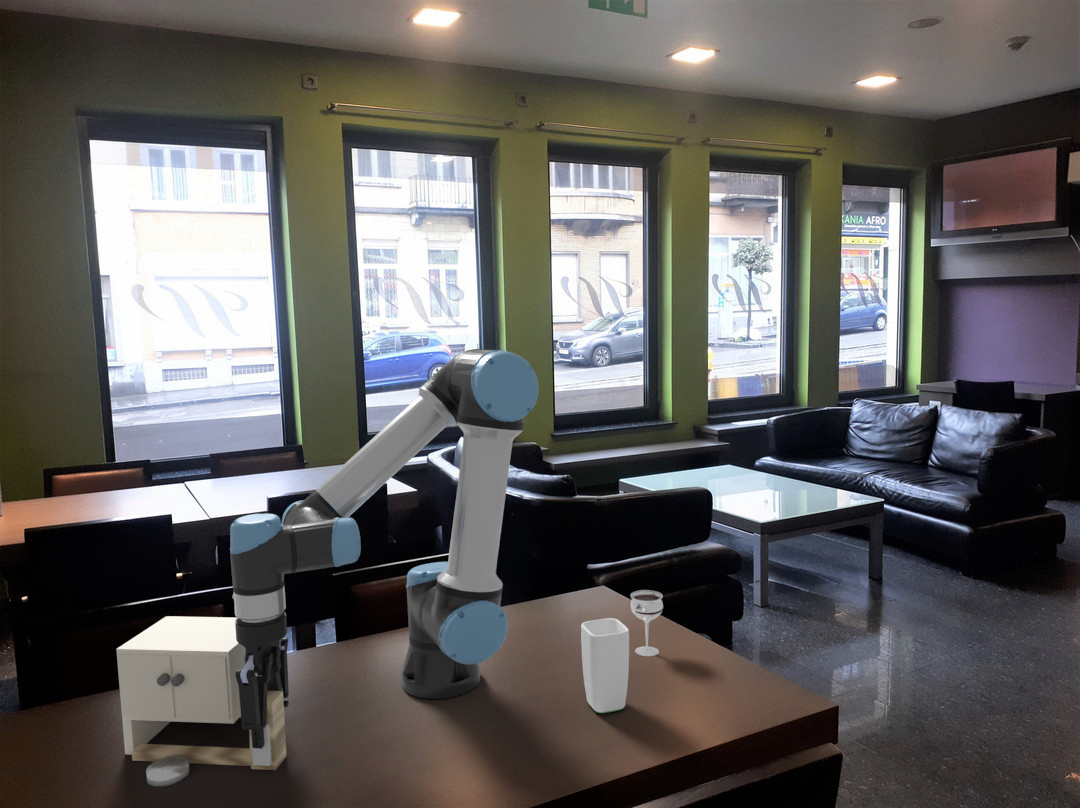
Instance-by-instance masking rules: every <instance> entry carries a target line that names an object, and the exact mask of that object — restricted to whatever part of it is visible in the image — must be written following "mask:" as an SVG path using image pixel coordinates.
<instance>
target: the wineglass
mask: <svg viewBox="0 0 1080 808" xmlns="http://www.w3.org/2000/svg"><path fill="white" fill-rule="evenodd" d="M662 598H664V597H663V594H662V593H661V592H659V591H655V590H651V589H650V590H649V589H640V590H636V591H635V590H634V591H633V592H631V593H630V599H631V600H630V605H629V606H630V610H631V613H632V614H633V615H634V616H635V617H636V618H637V619H639V620H642V621H643V623H644V634H645V645H644V646H638V647H637V648H635V650H634V653H636V654H637V655H639V656H642V657H653V656H657V655H659V654H660V651H659V649H658V648H657V647H653V646H649V625H650V624H649V623H650V622H651V621H653V620H655V619H657V618H658V617H659V616H660V615H661V614H662V613H663V609H664V604H663V600H662Z"/></svg>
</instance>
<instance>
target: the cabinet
mask: <svg viewBox="0 0 1080 808" xmlns="http://www.w3.org/2000/svg"><path fill="white" fill-rule="evenodd" d="M236 619H237V617H225V616H224V617H223V616H219V617H218V616H180V615H179V616H175V615H174V616H171V615H170V616H169V615H168V616H167V615H166V616H164V617H163V618H161V619H160V620H158V621H157V622H155V623H154V624H152V625H151V626H149V627H148V628H146V629H144V630H143V631H142V632H140V633H139V634H137V635H136V636H134V637H132V638H131V639H129V640H128V641H126V642H125V643H123V644H122V645H120V646H118V647H117V648H116V649H115V650H116V658H117V659H116V660H117V670H118V671H117V672H118V674H117V675H118V682H119V683H118V684H119V696H120V698H119V699H120V707H121V709H120V710H121V719H122V720H121V721H122V732H123V744H124V745H123V746H124V755H127V756H128V755H129V756H130V755H131V756H132V751H133V750H134V749H135V748H136V747H138V746H139V745H140V744H149V742H150V741H151V740H152V739H153V738H155V736H157V735H158V734H160V732H161V731H162V730H163V729H165V728H166V727H167V726H168V725H169V724H170V723H171V722H173V723H174V722H176V723H177V722H180V723H203V724H204V723H206V724H207V723H208V724H235V723H236V722H237V721H238V719H241V709H240V698H239V686H238V682H237V679H236V671H237V670H243V668H244V666H245V665H246V664H245V653H246V649H245V647H244V646H242V645H241V644H239V643H238V642H237V640H236V628H235V620H236Z"/></svg>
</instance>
